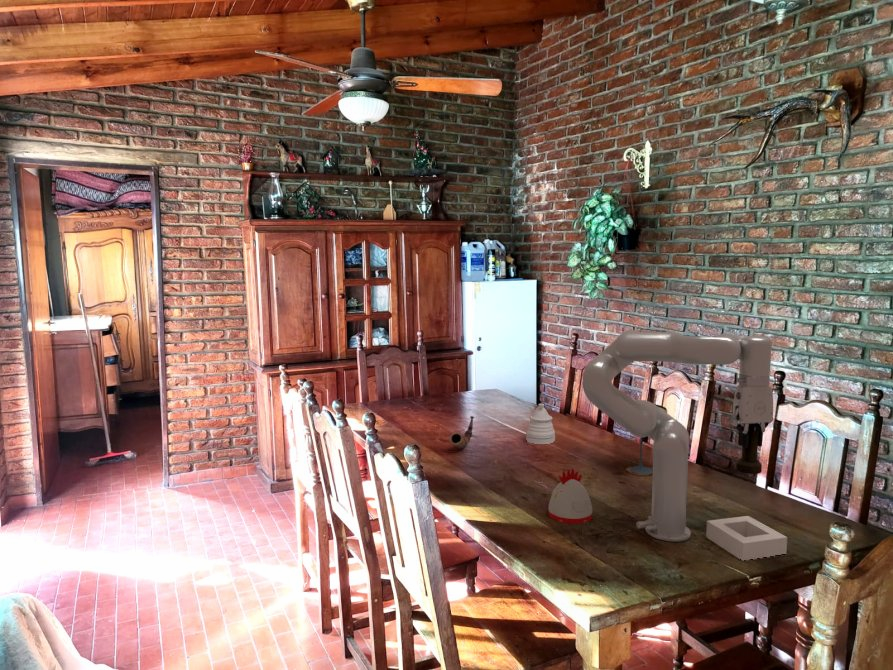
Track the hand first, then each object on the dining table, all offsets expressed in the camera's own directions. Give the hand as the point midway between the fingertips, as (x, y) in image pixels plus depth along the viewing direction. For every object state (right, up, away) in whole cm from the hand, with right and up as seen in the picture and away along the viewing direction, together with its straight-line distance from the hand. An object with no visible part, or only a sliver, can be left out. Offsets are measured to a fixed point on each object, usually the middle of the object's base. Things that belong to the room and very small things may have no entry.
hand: (749, 445), depth 172 cm
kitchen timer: (-45, -27, +25) cm, 58 cm away
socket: (0, -29, +3) cm, 29 cm away
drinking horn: (-77, -18, +101) cm, 128 cm away
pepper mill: (0, -8, +1) cm, 7 cm away
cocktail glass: (-10, -22, +66) cm, 70 cm away
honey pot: (-42, -18, +105) cm, 114 cm away
